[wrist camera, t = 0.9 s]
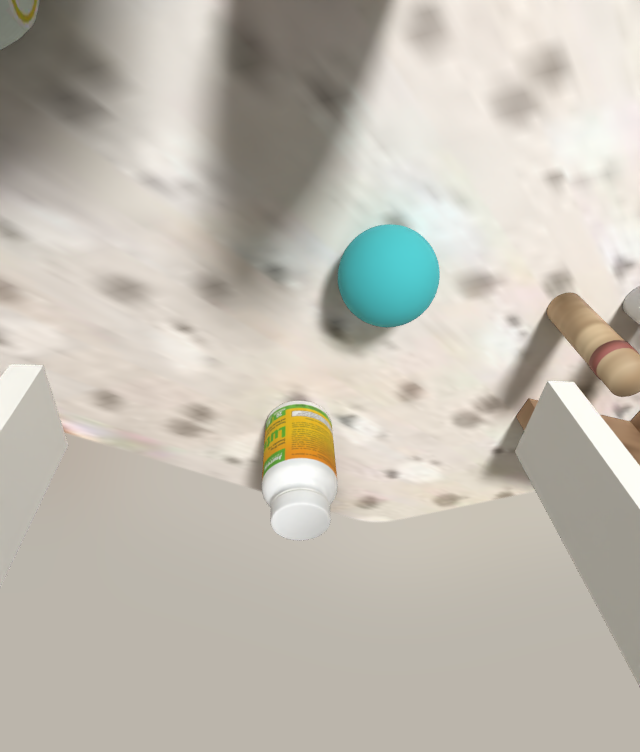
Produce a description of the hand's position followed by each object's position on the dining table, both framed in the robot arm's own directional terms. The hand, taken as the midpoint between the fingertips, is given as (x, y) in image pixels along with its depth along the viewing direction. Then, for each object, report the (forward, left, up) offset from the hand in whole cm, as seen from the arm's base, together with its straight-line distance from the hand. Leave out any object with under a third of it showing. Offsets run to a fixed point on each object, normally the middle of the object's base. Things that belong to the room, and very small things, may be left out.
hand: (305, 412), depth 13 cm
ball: (+6, -2, -17) cm, 18 cm away
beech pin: (+20, -2, -20) cm, 28 cm away
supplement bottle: (+5, -18, -20) cm, 27 cm away
